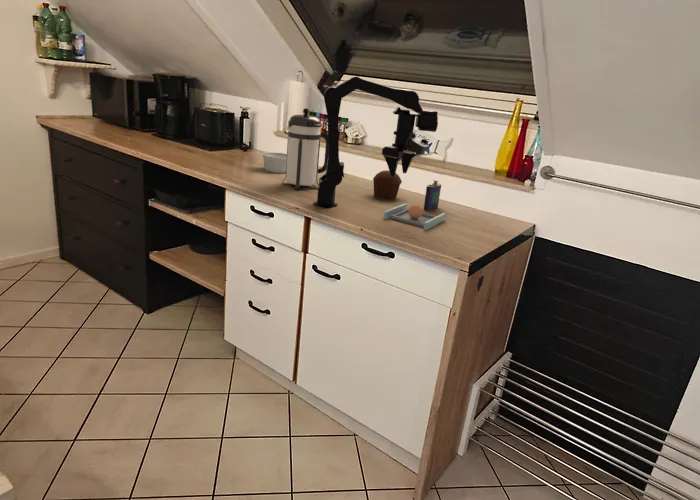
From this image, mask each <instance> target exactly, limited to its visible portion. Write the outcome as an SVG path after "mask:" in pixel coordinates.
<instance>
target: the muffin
mask: <svg viewBox="0 0 700 500" xmlns="http://www.w3.org/2000/svg"><path fill="white" fill-rule="evenodd" d="M372 181H373V196H374V197H376V198H378V199H381V200H396V198H397V196H398V192H399V190H400V186H401V184H402V180H401V177H400V175H399V174H398V173H397V172H396V173H395V176H394V177H392V176H391V174H390V171H389V169H387V170H382V171H379V172H378V173H376V174H375V176H374V177H373V178H372Z"/></svg>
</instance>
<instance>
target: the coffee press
mask: <svg viewBox="0 0 700 500" xmlns="http://www.w3.org/2000/svg"><path fill="white" fill-rule="evenodd" d="M302 113H303V114H294V115H291V117H290V118H289V120H288V121H287V122H288V125H287V127H286V130H287V145H286V146H287V149H286V154H287V162H286V173H285V178H284V179H283V180H282V185H286V184H287V183H289V184H291V185H294V186H295V187H294V190H296V191H299V190H300V187H301V186H302V187H304V186H308V187H309V186H313V187H314V188H315V189H317V190H318V188H319V181H318V174H323V173H324V172H326V167H327V161H328V133H325V132H321V130H322V127H323V123H322V122H321V120H320V118H318V117H317V116H314V115H310V114H309V113H310V110H309V108H307V107H305V108H303V110H302ZM321 138H323V139H324V141H325V149H324V150H325V152H324V163H323V165H322V166H321V168H319V163H320V162H319V161H320V160H319V159H320V151H321V150H320V148H321ZM285 180H286V181H287V182H284V181H285ZM315 184H316V185H317V186H318V187H317V186H316V185H315Z"/></svg>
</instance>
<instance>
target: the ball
mask: <svg viewBox="0 0 700 500" xmlns="http://www.w3.org/2000/svg"><path fill="white" fill-rule="evenodd" d="M407 209H408V214H409V216H410V217H411V218H413V219H418V218H420V217H421V216H422V214H423V213H424V208H423V207H422V206H421V205H420V204H419V203H413V204H411V205H410V206H409V207H408V208H407Z"/></svg>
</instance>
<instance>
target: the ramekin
mask: <svg viewBox="0 0 700 500" xmlns="http://www.w3.org/2000/svg"><path fill="white" fill-rule="evenodd" d="M262 158H263V167H264V170H265V171H266V172H269V173H274V174H286V162H287V153H283V152H275V151H274V152H273V151H272V152H271V151H269V152H268V151H267V152H263V154H262Z"/></svg>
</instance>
